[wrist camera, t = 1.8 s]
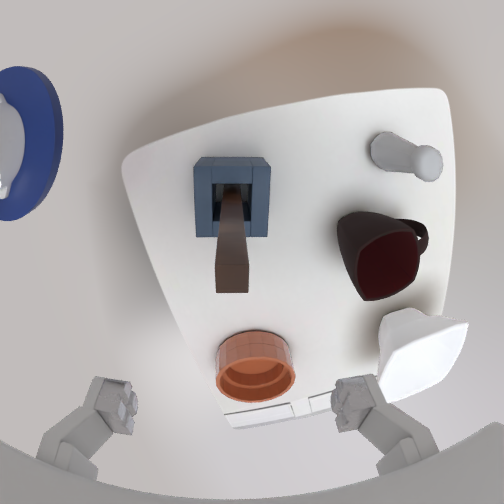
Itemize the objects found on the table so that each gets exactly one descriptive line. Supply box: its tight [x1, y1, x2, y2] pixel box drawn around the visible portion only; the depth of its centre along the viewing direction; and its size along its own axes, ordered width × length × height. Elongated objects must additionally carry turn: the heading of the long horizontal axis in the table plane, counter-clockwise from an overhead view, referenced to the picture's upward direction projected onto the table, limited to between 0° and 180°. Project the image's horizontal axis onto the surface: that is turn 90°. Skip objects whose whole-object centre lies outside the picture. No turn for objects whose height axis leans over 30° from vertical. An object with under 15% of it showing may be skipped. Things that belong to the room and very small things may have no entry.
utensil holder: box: [194, 157, 271, 237], centre depth 35 cm, size 8×8×8 cm
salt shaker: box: [370, 132, 443, 182], centre depth 31 cm, size 6×6×13 cm
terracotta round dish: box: [216, 331, 295, 403], centre depth 50 cm, size 14×14×7 cm
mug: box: [337, 212, 429, 301], centre depth 37 cm, size 10×14×12 cm
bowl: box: [377, 308, 468, 403], centre depth 46 cm, size 19×19×14 cm
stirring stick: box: [215, 184, 249, 293], centre depth 27 cm, size 2×2×24 cm
